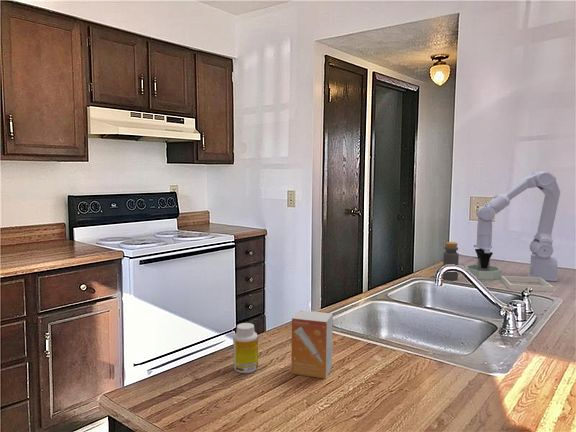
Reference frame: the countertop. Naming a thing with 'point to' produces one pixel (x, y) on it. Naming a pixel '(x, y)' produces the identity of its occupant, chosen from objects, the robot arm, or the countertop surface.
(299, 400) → the countertop surface
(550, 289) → the tray
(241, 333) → the supplement bottle
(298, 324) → the small box
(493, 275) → the bowl
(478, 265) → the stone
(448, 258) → the bottle
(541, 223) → the robot arm
